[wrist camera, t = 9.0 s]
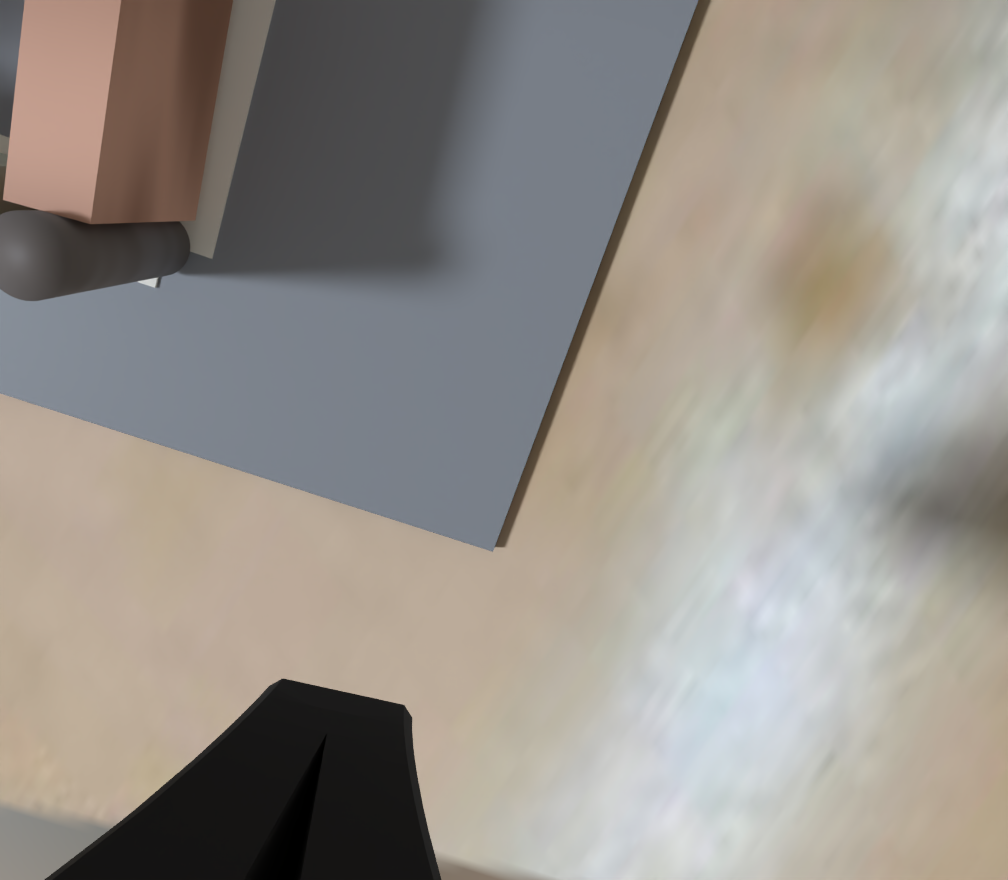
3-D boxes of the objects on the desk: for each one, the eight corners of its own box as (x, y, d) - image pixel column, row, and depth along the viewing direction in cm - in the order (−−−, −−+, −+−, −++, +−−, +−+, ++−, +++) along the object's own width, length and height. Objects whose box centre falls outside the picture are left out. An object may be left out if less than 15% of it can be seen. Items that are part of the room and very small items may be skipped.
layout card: (-378, 267, 16) (-391, 269, 16) (-320, -793, 12) (-338, -815, 12) (492, 548, 18) (493, 552, 17) (807, -299, 13) (813, -309, 13)
